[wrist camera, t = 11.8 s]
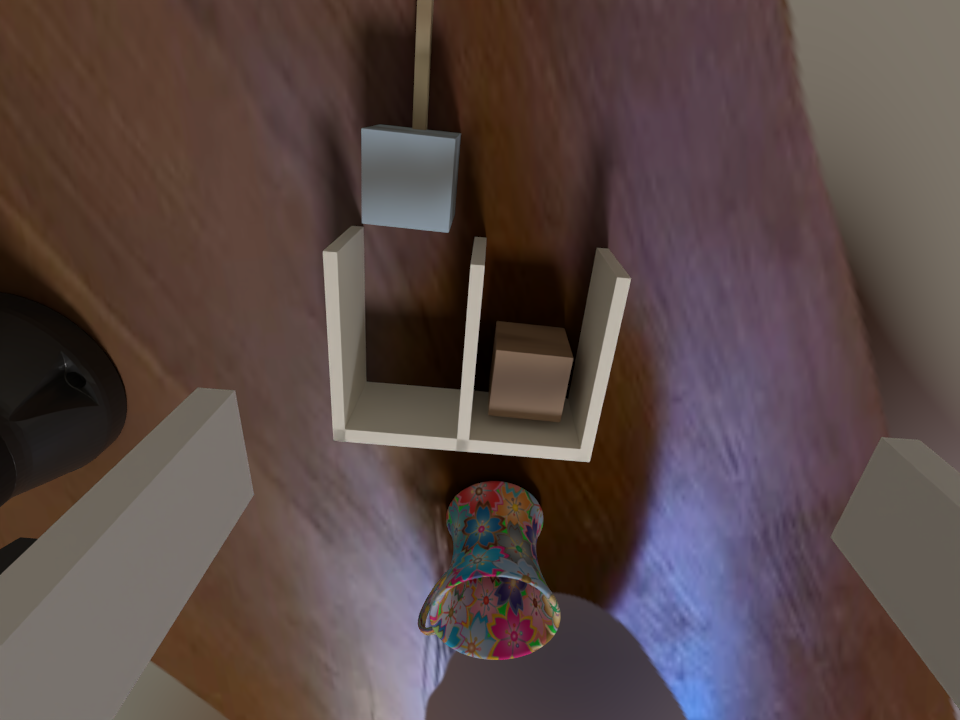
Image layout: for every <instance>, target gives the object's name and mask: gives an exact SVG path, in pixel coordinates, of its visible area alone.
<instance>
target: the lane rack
mask: <svg viewBox="0 0 960 720" xmlns="http://www.w3.org/2000/svg"><path fill="white" fill-rule="evenodd" d="M485 253H486V238H484V237H474V244H473V251H472V258H471V265H470V278H469V291H468V304H467V317H466V330H465V343H464V356H463V369H462V382H461V390H460V389H448V388H437V387H425V386H413V385H401V384H390V383H378V382H367V378H366V327H365V276H364V227H362V226H351V227H349V228H348V229H347V230H346V231H345V232H344V233H343V234H342V235H340V236H339V237H338V238H337V239H336V240H335V241H334V242H333V243H331V244H330V245H329V246H328V247H327V248H326V249H325V250H324V251H323V264H324V282H325V300H326V317H327V335H328V353H329V370H330V388H331V405H332V423H333V441H343V442H355V443H367V444H379V445H391V446H403V447H415V448H427V449H439V450H451V451H463V452H475V453H487V454H499V455H511V456H523V457H535V458H547V459H559V460H571V461H583V462H590V458H591V454H592V449H593V445H594V440H595V436H596V432H597V427H598V423H599V418H600V414H601V410H602V405H603V401H604V396H605V392H606V387H607V383H608V379H609V374H610V370H611V365H612V361H613V357H614V352H615V348H616V343H617V339H618V334H619V330H620V326H621V321H622V317H623V312H624V308H625V304H626V299H627V295H628V290H629V286H630V281H631V278H630V276H629V275H628V274H627V273H626V271H625V270H624V269H623V267H622V266H621V265H620V263H619V262H618V261H617V259H616V258H615V257H614V255H613V254H612V253H611V251H610V250H609V249H606V248H597V249H596V254H595V259H594V265H593V270H592V275H591V280H590V286H589V291H588V296H587V302H586V307H585V312H584V317H583V323H582V328H581V333H580V339H579V344H578V349H577V354H576V360H575V365H574V370H573V376H572V381H571V386H570V391H569V397H568V399H565V401H564V406H563V411H562V416H561V421H560V422H551V421H541V420H531V419H521V418H511V417H502V416H492V415H488V400H489V392H483V391H473V390H474V379H475V368H476V357H477V346H478V335H479V324H480V312H481V301H482V290H483V279H484V268H485Z"/></svg>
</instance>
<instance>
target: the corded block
mask: <svg viewBox="0 0 960 720" xmlns="http://www.w3.org/2000/svg"><path fill="white" fill-rule="evenodd" d="M433 2H434V0H417V19H416V46H415V72H414V99H413V125H412V128H409V127H400V126H392V125H383V124H379V125H375V126H370V127H366V128H361V137H362V223H363V224H372V225H382V226H391V227H400V228H409V229H419V230H428V231H437V232H447V233H449V230H450V227H451V224H452V221H453V218H454V216H455V204H456V191H457V178H458V165H459V152H460V139H461V133H454V132H445V131H436V130H427V122H428V102H429V82H430V62H431V42H432V22H433Z"/></svg>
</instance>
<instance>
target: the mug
mask: <svg viewBox="0 0 960 720" xmlns="http://www.w3.org/2000/svg"><path fill="white" fill-rule="evenodd" d="M446 522H447V526H448V530H449V532H450V534H451V536H452V538H453V544H454V552H453V559H452V563H451V566H450V569H449V570H448V571H447V572H446V573H445V574H444V575H443V576H442V577H441V578H440V580H439V581H438V582H437V584H436V585H435V586H434V588H433V589H432V591H431V592H430V594H429V595H428V597H427V599H426V601H425V602H424V604H423V607H422V609H421V611H420V614H419V618H418V627H419V629H420V631H421V632H422V633H424V634H425V635H429V636H430V635H435V634H437V636H438V637H439V638H440V639H441V640H442V641H443V642H444V643H445V644H447V645H448V646H449V647H451V648H452V649H454V650H456V651H458V652H460V653H463V654H465V655H468V656H472V657H476V658H481V659H490V660H504V659H512V658H517V657H521V656H524V655H527V654H529V653H532V652H534V651H536V650H538V649H539V648H541V647H543V646H544V645H545V644H546V643H548V642H549V641H550V639H552V637H553V636H554V635H555V633H556V631H557V629H558V626H559V623H560V608H559V605H558V602H557V600H556V598H555V596H554V595H553V593H552V592H551V591H550V589H549V588H548V586H547V584H546V582H545V581H544V578H543V576H542V574H541V571H540V569H539V565H538V561H537V556H536V542H537V538H538V536H539V534H540V532H541V530H542V526H543V512H542V509H541V507H540V505H539V503H538V501H537V500H536V499H535V497H534V496H533V495H532V494H530V493H529V492H528V491H526V490H525V489H523V488H521V487H519V486H517V485H514V484H511V483H508V482H502V481H487V482H481V483H477V484H474V485H472V486H470V487H468V488H466V489H464V490H462V491H461V492H460V493H459V494H457V495H456V496H455V498H454V499H453V500H452V502H451V503H450V505H449V508H448V510H447V515H446ZM429 611H430V613H429ZM428 613H429V615H430V622H431V625H432V627H429V628H426V627H425V623H426V618H427V615H428Z"/></svg>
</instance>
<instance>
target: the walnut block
mask: <svg viewBox="0 0 960 720" xmlns="http://www.w3.org/2000/svg"><path fill="white" fill-rule="evenodd" d="M572 363H573V355H572V352H571V348H570V345H569V342H568V338H567V335H566V332H565V328H560V327H551V326H541V325H531V324H522V323H512V322H503V321H496V329H495V337H494V345H493V353H492V360H491V368H490V376H489V400H488V415H492V416H502V417H511V418H521V419H531V420H541V421H551V422H560V421H561V416H562V411H563V406H564V401H565V397H566V392H567V387H568V382H569V377H570V372H571V367H572Z"/></svg>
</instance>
